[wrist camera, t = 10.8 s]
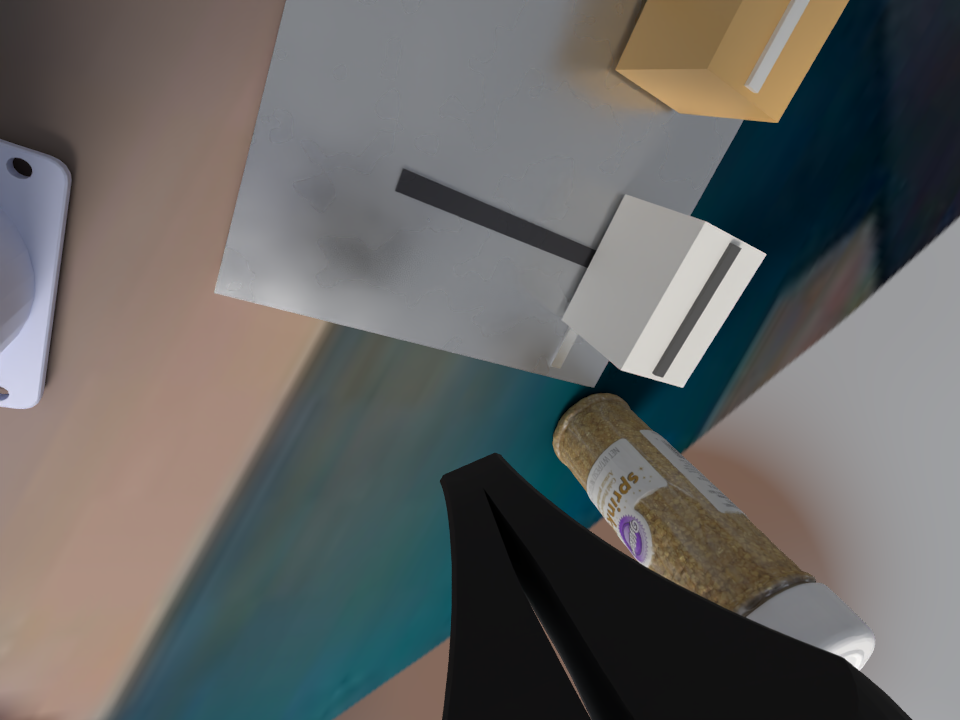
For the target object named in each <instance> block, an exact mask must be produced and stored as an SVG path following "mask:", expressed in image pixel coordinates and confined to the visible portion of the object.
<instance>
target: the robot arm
mask: <svg viewBox="0 0 960 720" xmlns="http://www.w3.org/2000/svg"><path fill="white" fill-rule="evenodd" d="M14 158H21V159H23V160H25V161H27V162H28V163H29V165H30V166H31V167H32V172H33V173H32V175H31V177H30V176H24V175H22V174H20V173H18V172H17V171H16V170H15V168H14V166H13V160H14ZM71 181H72V180H71V173H70V171H69V169H68V168H67V166H66V165H65V164H64V163H63V162H62V161H60V160H59V159H57V158H55V157H53V156H51V155H48V154H45V153H42V152H39V151H36V150H33V149H29V148H26V147H23V146H20V145H17V144H14V143H11V142H8V141H5V140H2V139H0V387H3V388H5V389H6V390H7V391H8V393H9V394H1V393H0V407H8V408H15V409H27V408H31V407H33V406H35V405H36V404H37V403H38V402H39V401H40V399H41V398H42V396H43V393H44V386H45V378H46V371H47V363H48V356H49V348H50V340H51V333H52V325H53V318H54V310H55V303H56V295H57V287H58V280H59V272H60V265H61V257H62V250H63V242H64V234H65V227H66V219H67V212H68V204H69V197H70V189H71ZM440 483H441V485H442V488H443V492H444V496H445V500H446V506H447V512H448V520H449V528H450V543H451V559H452V614H451V635H450V650H449V662H448V673H447V683H446V691H445V701H444V710H443V717H442V720H912V719H911V718H910V717H909V716H908V715H907V714H906V713H905V712H904V711H903V710H902V709H901V708H900V707H899V706H898V705H897V704H896V703H895V702H894V701H893V700H892V699H891V698H890V697H889V696H888V695H887V694H886V693H885V692H884V691H883V690H881V689H880V688H879V687H878V686H877V685H876V684H874V683H873V682H872V681H871V680H870V679H869V678H867V677H866V676H865V675H864V674H863V673H861V672H860V671H859V670H858V669H857V668H856V667H854V666H853V665H852V664H851V663H849V662H848V661H847V660H846V659H845V658H843V657H841V656H838V655H836V654H833V653H831V652H828V651H826V650H823V649H821V648H818V647H815V646H813V645H810V644H808V643H805V642H802V641H800V640H798V639H795V638H793V637H790V636H788V635H785V634H783V633H781V632H778V631H776V630H773V629H771V628H768V627H766V626H764V625H762V624H759V623H757V622H755V621H753V620H750V619H748V618H746V617H744V616H741V615H739V614H737V613H735V612H732V611H730V610H728V609H726V608H724V607H722V606H720V605H718V604H716V603H714V602H712V601H710V600H708V599H706V598H704V597H702V596H700V595H698V594H696V593H694V592H692V591H690V590H688V589H686V588H684V587H682V586H680V585H678V584H676V583H674V582H672V581H670V580H669V579H667V578H665V577H663V576H661V575H660V574H658V573H656V572H654V571H653V570H651V569H649V568H647V567H645V566H644V565H642V564H640V563H639V562H637V561H635V560H634V559H632V558H630V557H629V556H627V555H625V554H624V553H622V552H621V551H619V550H618V549H616V548H614V547H613V546H611V545H610V544H608V543H607V542H605V541H604V540H602V539H601V538H599V537H598V536H596V535H595V534H594V533H592V532H591V531H589V530H588V529H586V528H585V527H584V526H582V525H581V524H579V523H578V522H577V521H575V520H574V519H573V518H571V517H570V516H569V515H567V514H566V513H565V512H564V511H562V510H561V509H560V508H558V507H557V506H556V505H555V504H553V503H552V502H551V501H550V500H548V499H547V498H546V497H545V496H543V495H542V494H541V493H540V492H539V491H537V490H536V489H535V488H534V487H533V486H532V485H531V484H530V483H528V482H527V481H526V480H525V479H524V478H523V477H522V476H521V475H520V474H519V473H518V472H517V471H515V470H514V469H513V468H512V467H511V466H510V465H509V463H508V462H507V461H506V460H505V459H504V458H503V457H502V456H501V455H500V454H497V453H493V454H491V455H489V456H486V457H484V458H482V459H479V460H477V461H475V462H472V463H470V464H468V465H465V466H463V467H461V468H459V469H456V470H454V471H452V472H449V473H447V474H445V475H443V477H442V478H441V480H440ZM531 606H532V607H531ZM532 608H533V609H532ZM533 610H534V611H535V613H536V615H537V617H538V618H539V620H540V622H541V624H542V625H543V627H544V629H545V630H546V632H547V634H548V636H549V637H550V639H551V641H552V643H553V644H554V646H555V648H556V649H557V651H558V653H559V655H560V656H561V658H562V660H563V662H564V664H565V666H566V668H567V670H568V671H569V673H570V675H571V677H572V679H573V682H574V684H575V686H576V688H577V690H578V692H579V694H580V696H581V698H582V701H583V702H584V705H585V707H586V709H587V711H588V713H589V715H590V717H589V715H588V713H587V712H586V710H585V708H584V706H583V704H582V702H581V700H580V699H579V697H578V695H577V693H576V691H575V689H574V688H573V686H572V684H571V682H570V680H569V678H568V676H567V674H566V672H565V670H564V668H563V667H562V665H561V663H560V661H559V659H558V657H557V655H556V653H555V651H554V649H553V648H552V646H551V644H550V642H549V640H548V638H547V636H546V634H545V632H544V630H543V628H542V626H541V624H540V623H539V621H538V619H537V617H536V615H535V613H534V611H533ZM590 718H591V719H590Z"/></svg>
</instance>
